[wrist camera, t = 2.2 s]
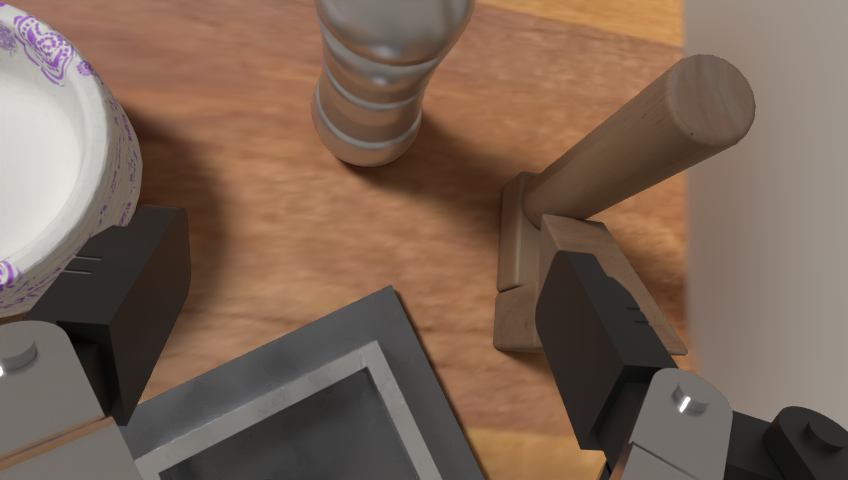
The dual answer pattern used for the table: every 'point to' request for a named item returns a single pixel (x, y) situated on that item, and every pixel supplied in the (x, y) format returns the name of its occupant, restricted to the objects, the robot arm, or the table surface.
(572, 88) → the table surface
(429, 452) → the plate
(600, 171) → the brown wooden block stack
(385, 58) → the silver metal bottle
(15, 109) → the paper bowls
